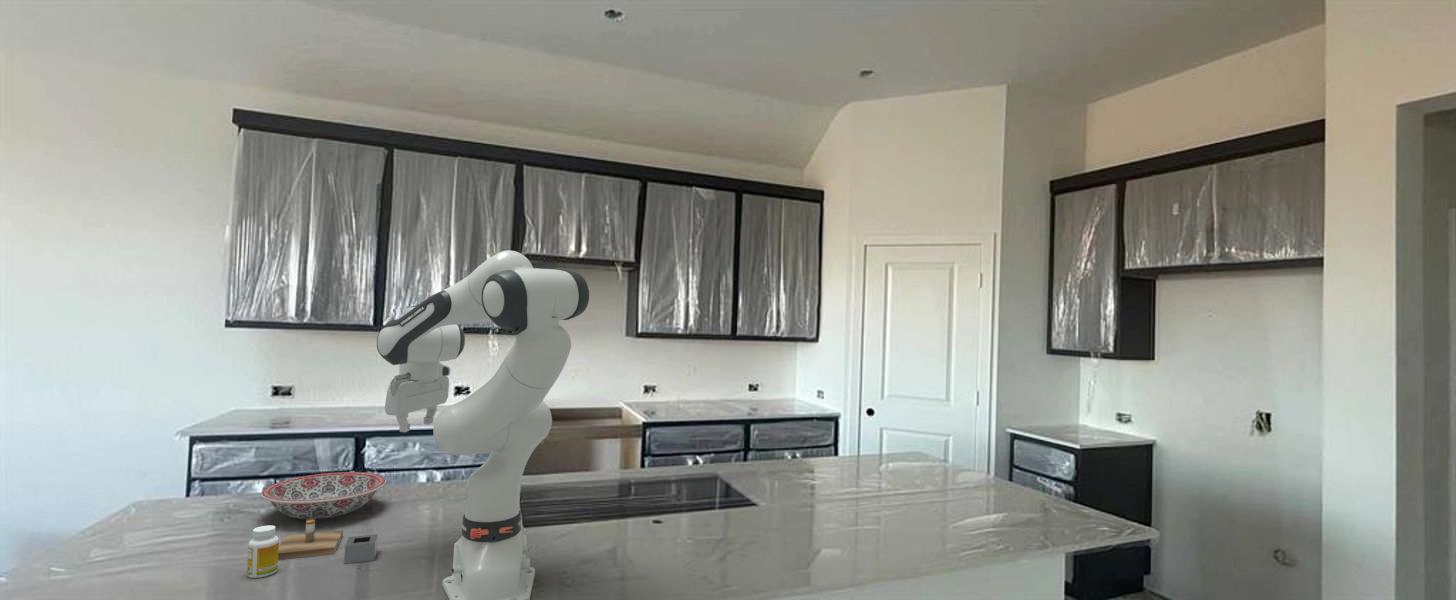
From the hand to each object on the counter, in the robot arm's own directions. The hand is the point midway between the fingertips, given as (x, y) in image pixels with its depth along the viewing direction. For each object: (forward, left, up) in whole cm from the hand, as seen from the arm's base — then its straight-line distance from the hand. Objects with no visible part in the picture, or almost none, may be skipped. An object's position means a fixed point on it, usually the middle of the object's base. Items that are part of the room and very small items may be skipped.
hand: (416, 427), depth 155 cm
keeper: (+6, +22, -29) cm, 37 cm away
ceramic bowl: (+32, +23, -29) cm, 49 cm away
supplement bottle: (-7, +29, -29) cm, 41 cm away
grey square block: (-4, +10, -29) cm, 31 cm away
